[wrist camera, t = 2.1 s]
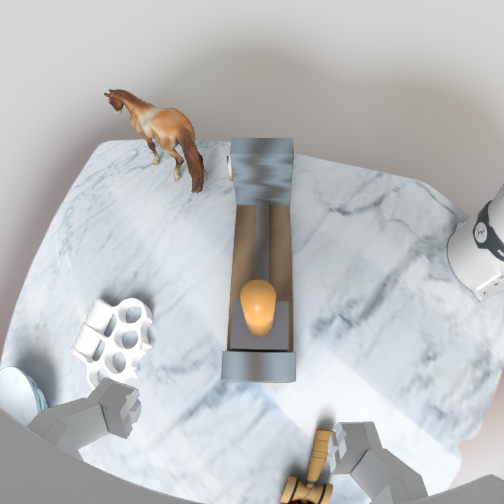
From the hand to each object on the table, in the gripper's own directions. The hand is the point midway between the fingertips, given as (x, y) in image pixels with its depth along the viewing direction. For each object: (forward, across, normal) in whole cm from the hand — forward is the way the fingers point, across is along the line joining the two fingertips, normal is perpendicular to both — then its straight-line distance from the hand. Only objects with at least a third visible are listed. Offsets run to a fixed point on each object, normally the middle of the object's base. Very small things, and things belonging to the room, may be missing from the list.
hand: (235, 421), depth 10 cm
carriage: (+30, -1, +12) cm, 32 cm away
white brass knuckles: (+29, +23, +21) cm, 42 cm away
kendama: (+16, -12, +31) cm, 37 cm away
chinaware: (+17, +39, +36) cm, 55 cm away
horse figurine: (+54, +26, -8) cm, 61 cm away
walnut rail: (+38, 0, +6) cm, 39 cm away
